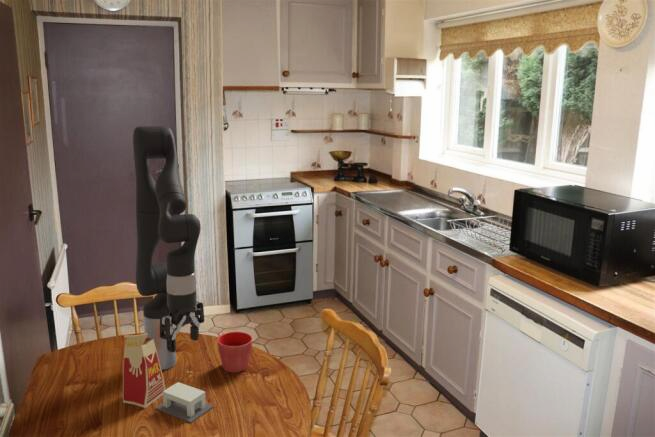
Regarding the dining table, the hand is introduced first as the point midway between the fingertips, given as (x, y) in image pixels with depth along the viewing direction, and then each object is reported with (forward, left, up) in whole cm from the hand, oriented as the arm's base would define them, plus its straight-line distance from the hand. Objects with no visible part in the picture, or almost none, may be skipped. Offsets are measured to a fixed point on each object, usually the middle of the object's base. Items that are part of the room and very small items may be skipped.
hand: (183, 345), depth 155 cm
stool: (-5, -1, -16) cm, 16 cm away
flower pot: (-3, +25, -19) cm, 32 cm away
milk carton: (-14, -3, -19) cm, 23 cm away
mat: (0, -1, -18) cm, 18 cm away
